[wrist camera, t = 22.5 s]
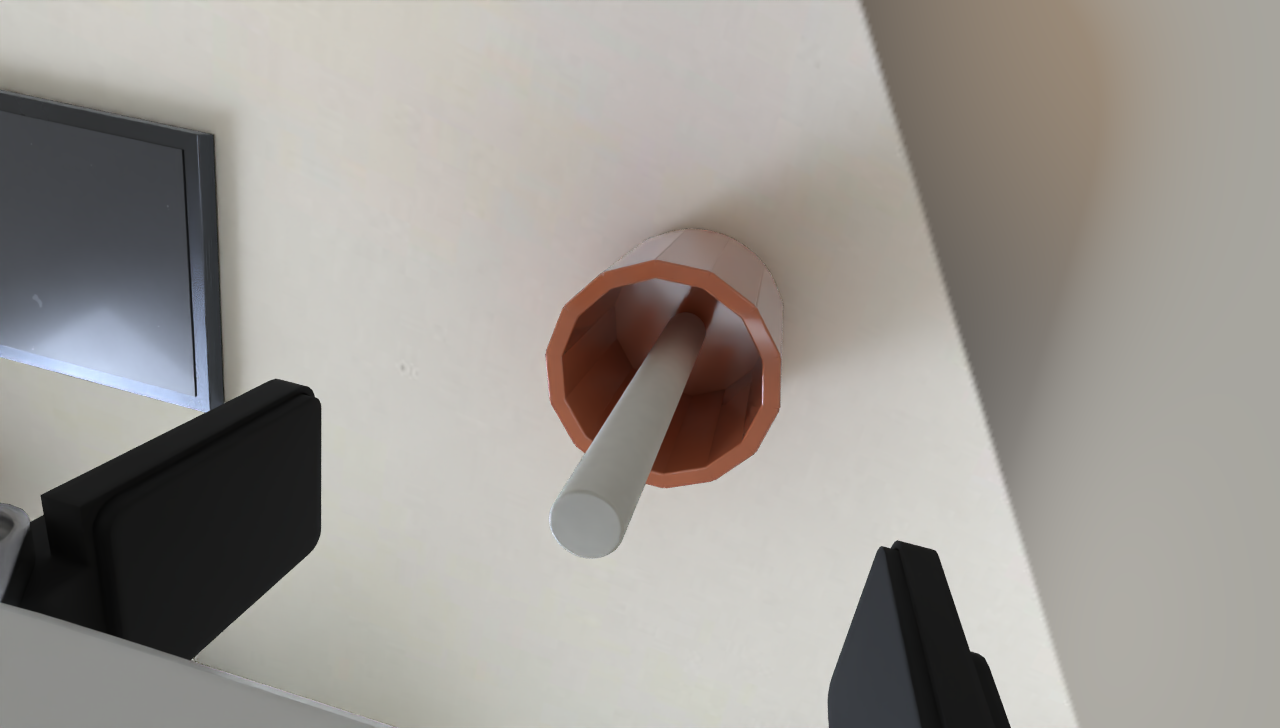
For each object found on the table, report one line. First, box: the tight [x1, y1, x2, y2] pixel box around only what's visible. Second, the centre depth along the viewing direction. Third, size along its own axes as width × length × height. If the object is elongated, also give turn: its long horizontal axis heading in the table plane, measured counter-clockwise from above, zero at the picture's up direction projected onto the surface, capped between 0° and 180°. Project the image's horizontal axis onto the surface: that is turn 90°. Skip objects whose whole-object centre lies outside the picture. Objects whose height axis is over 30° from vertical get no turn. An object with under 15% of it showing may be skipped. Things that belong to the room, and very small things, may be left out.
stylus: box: [549, 312, 706, 558], centre depth 19 cm, size 1×1×14 cm
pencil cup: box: [545, 228, 783, 488], centre depth 23 cm, size 7×7×7 cm
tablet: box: [0, 90, 224, 413], centre depth 30 cm, size 12×16×1 cm
